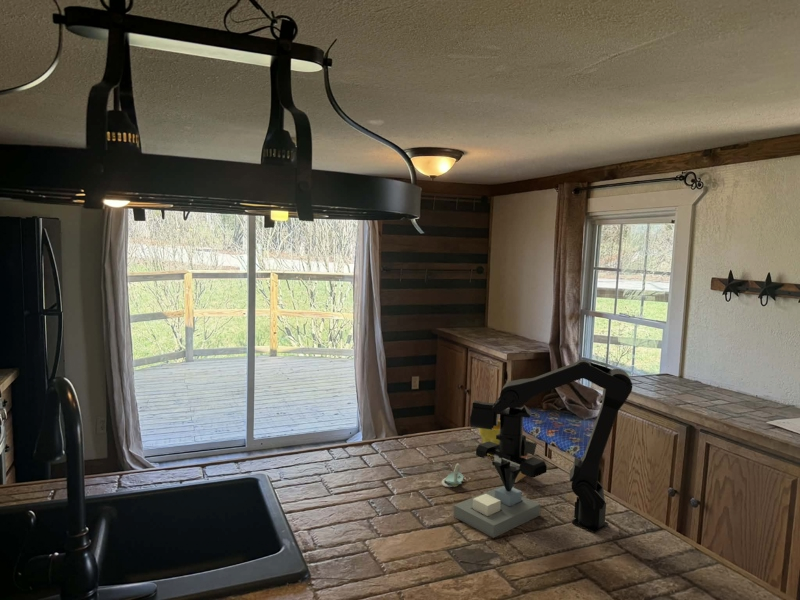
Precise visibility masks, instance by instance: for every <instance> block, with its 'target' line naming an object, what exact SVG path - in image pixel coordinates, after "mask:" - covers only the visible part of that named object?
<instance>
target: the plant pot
mask: <svg viewBox="0 0 800 600" xmlns="http://www.w3.org/2000/svg"><path fill="white" fill-rule="evenodd" d="M478 431H479V432H478V433H479V435H480V436H481V441H482V443H485V442H489V441H490V442H493V443H496V444H499V440H498V439H496V435H498V434H500V419H498V425H497V426H494V428H493V430H490V429H482V428H478ZM489 455H490V454H488V453H487V456H489ZM489 457H493V455H490V456H489Z"/></svg>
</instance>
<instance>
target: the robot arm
mask: <svg viewBox="0 0 800 600" xmlns="http://www.w3.org/2000/svg"><path fill="white" fill-rule="evenodd" d="M581 379H582V380H583V379H584V380H586V381H588V382H590V383H592V384H594V385H596V386H597V387H600V388H602V400H601V405H600V408H599V411H598V414H597V416H596V419H595V422H594V426H593V427H592V431H591V434H590V437H589V440H588V442H587V445H586V448H585V451H584V454H583V455H582V457H581V458H580V459H579V458H577V457H575V456H574V459H573V465H572V468H570V470H569V481H570V482H571V490H572V492H573V494H574V495H575V496H577V497H576V501H575V502H574V508H573V509H574V510H573V511H574V512H573V513H574V515H573V517H574V519H572V520H571V523H572V524H573V525H575V526H578V527H579V528H580V527H581V528H582V529H584V530H586V531H589V532H591V533H594V534H596V533H599V532H600V531H602V530H603V529H604V528H607V527H608V526H609V523H608V522H607V521H606V515H607V514H606V512H607V502H606V499H605V497H606V496H605V490H604V486H603V485H602V484H601V483H600V482H599V481H598V480H599V473H600V472H599V471H600V463H601V461H602V458H603V454H604V453H605V449H606V446H607V443H608V440H609V438H610V435H611V432H612V430H613V427H614V424H615V420H616V417H617V415H618V412H619V411H620V410H621V408H622V407H623V406H624V404H626V401H627V400H628V398H629V397H630V394H631V393H632V391H633V382H632V380H631V377H630V376H629V374H628V372H627V371H626V370H623V369H622V368H609V367H606V366H604V365H601V364H597V363H593V362H591V361H590V360H587V359H584V358H582V359H578V360H577V361H576V362H574V363H571V364H570V363H569V364H567V365H565V366H562V367H559V368H556V369H554V370H551V371H549V372H546V373H543V374H541V375H537V376H535V377H531V378H520V379H515V380H510V381H507V382H506V383H504V385H503V387H502V389H501V391H500V393H499V397H498V398H496V399H495V401H494V403H493V402H492V403H491V402H483V401H479V400H473V401H472V407H471V412H470V415H469V426H470V428H475V429H479V428H482V429H490V430H493V428H494V426H497V425H498V420H499V421H500V434H498V435H496V439H498V440H499V444H496V443H493V442H490V441H489V442H485V443H483V442H482V443H479V444H478V445H477V446H476V448H475V456H477V457H479V458H481V459H485V458H487V457H488V455H487V453H488V454H490V455H493V456H492V457H494V458H493V462H491V465H493V466H494V468H495V470H496V471H497V474H498V476H500V479H501V481H502V484H503V486H504V487H505V489H506V490H507V491H511V489H512V487H513V488H514V484H515V480H516V478H517V476H518V474H519V473H520V471H521V473H522V474H524V475H526V476H525V477H529V478H536V477H538V476H541V475H543V474H546V473H547V469H548V467H547V466H548V465H547V463H546V461H544V460H542V459H539V458H537V457H528V459H525V458H522V457H521V456H527V453H528V455H529V454H530V455H531V456H535V452H536V450H537V446H538V443H536V442H533V441H530V440H529V439H528V440H527V436H526V435H525V434H523V431H524V430H523V428H524V418H531V415H532V411H531V410H529V408H528V407H527V406H526V405H525V404H526V403H527V402H529V401H530V400H532V399H533V398H535V397H536V396H538V395H540V394H543V393H546V392H548V391H551V390H554V389H557V388H560V387H562V386H566V385H568V384H570V383H574V382H575V381H579V380H581ZM522 405H523V406H522ZM520 406H522V407H520ZM499 417H500V418H499Z"/></svg>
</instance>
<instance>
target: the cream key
mask: <svg viewBox="0 0 800 600" xmlns="http://www.w3.org/2000/svg"><path fill="white" fill-rule="evenodd" d="M500 503H501V500H498V499H496V498H494V497H492V496H490V495H488V494H484V495H481V496H479V497H476V498H474V499H473V509H474V510H476V511H478V512H480V513H482V514H484V515H486V516H489V515H491V514H494V513H496V512H498V511H500Z"/></svg>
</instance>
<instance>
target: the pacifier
mask: <svg viewBox="0 0 800 600" xmlns="http://www.w3.org/2000/svg"><path fill="white" fill-rule="evenodd" d="M460 471H461V465H460V464H459V463H456V464H455V467H454V470H453V472H451V473H449V474H448V475H447V476H446V477H445V478H443V479H442V480H441V485H442V486H443V487H445V488H455V487H458V486H459V485H462V482H463V480H464V474H462V473H461V472H460ZM447 483H448V484H447Z"/></svg>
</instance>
